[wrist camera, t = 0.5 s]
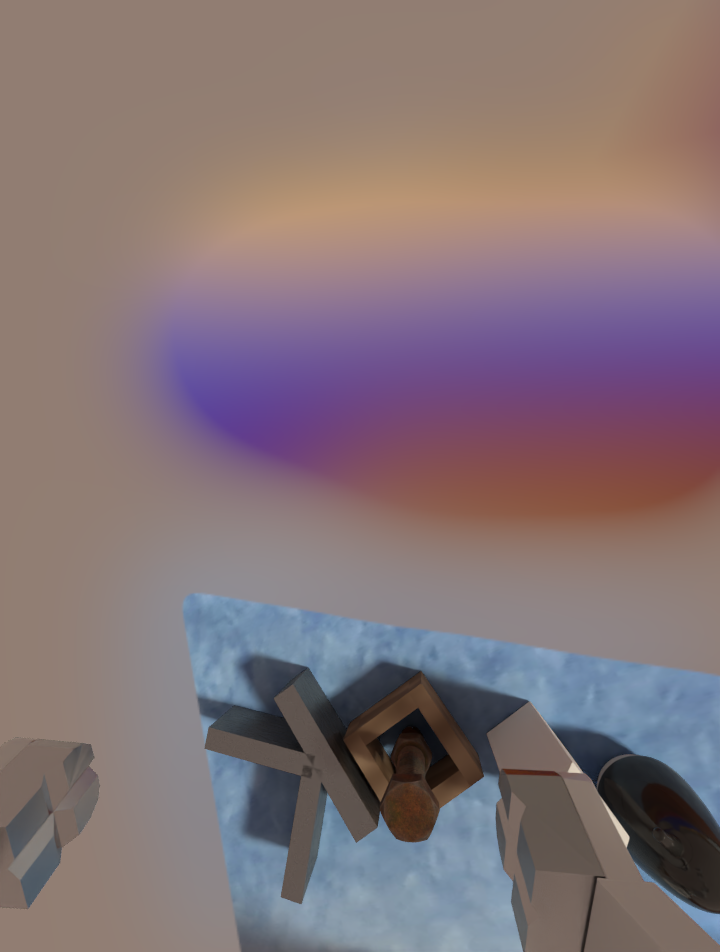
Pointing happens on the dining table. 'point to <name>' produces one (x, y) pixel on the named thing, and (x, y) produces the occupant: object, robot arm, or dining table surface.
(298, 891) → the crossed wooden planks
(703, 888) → the black egg shape
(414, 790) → the bolt
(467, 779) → the bore block
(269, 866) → the dining table surface
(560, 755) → the milk carton
